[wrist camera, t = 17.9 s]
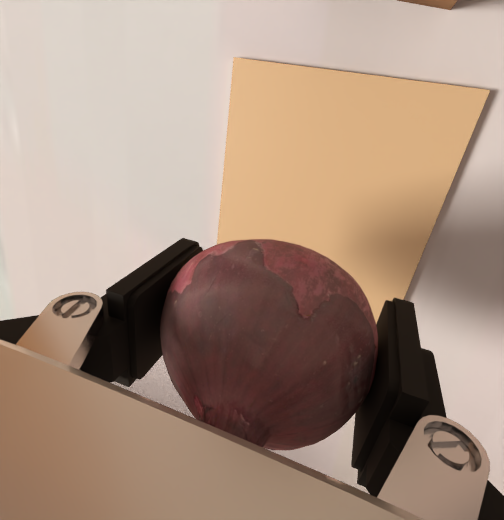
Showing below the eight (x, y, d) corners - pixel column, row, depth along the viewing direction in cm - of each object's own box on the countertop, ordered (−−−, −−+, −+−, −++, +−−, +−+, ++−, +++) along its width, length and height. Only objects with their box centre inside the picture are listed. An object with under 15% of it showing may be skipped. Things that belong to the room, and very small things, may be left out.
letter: (211, 326, 21) (209, 329, 21) (236, 58, 15) (233, 57, 14) (368, 380, 19) (368, 384, 19) (487, 90, 12) (490, 89, 12)
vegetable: (384, 344, 13) (393, 814, 4) (241, 340, 15) (66, 637, 7) (371, 191, 11) (335, 524, 2) (207, 213, 13) (-111, 417, 5)
